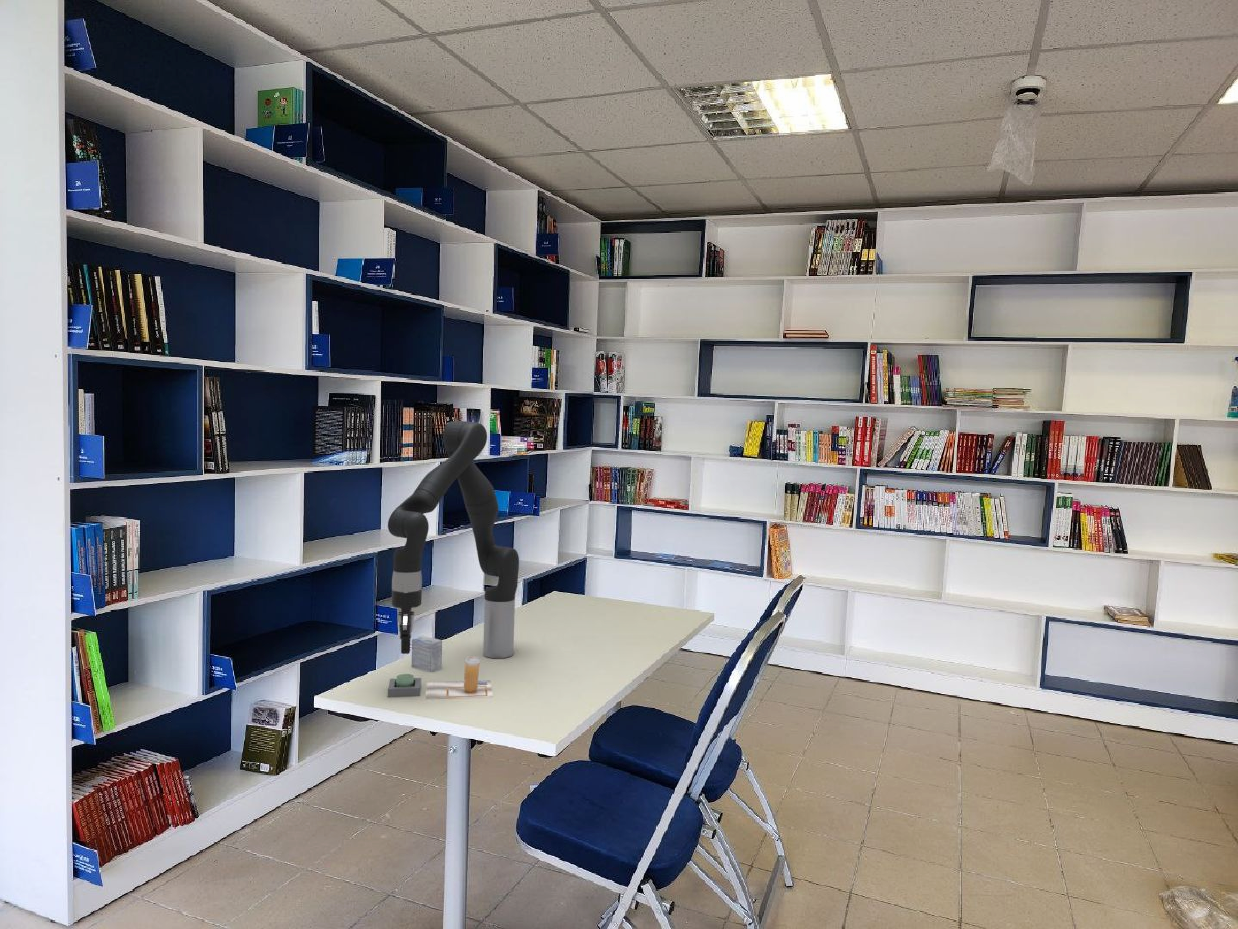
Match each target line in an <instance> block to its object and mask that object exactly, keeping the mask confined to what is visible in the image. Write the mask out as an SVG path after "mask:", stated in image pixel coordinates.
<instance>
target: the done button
mask: <svg viewBox="0 0 1238 929" xmlns="http://www.w3.org/2000/svg"><path fill="white" fill-rule="evenodd" d="M414 676H415V675H413V674H410V673H404V674H398V675H397V676H396V678H395V679H396V687H413V686H414V678H415V677H414Z"/></svg>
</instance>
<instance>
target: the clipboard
mask: <svg viewBox="0 0 1238 929" xmlns="http://www.w3.org/2000/svg"><path fill="white" fill-rule="evenodd" d="M491 681H492V680H491V679H482V680H480V679H478V688H477V689H476V690H475V692H474V693H467V692H466V691H465V689H464V680H449V681H427V682H426V690H425V700H444V699H445V700H447V699H448V700H449V699H450V700H451V699H474V698H493V695H494V694H493V690H492V689H493V688H492V683H491Z"/></svg>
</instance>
